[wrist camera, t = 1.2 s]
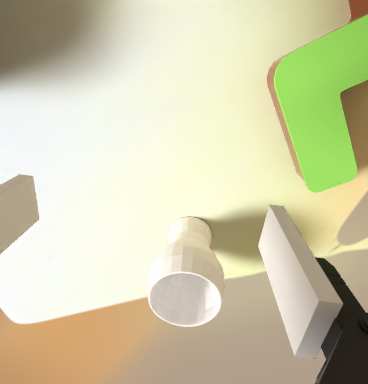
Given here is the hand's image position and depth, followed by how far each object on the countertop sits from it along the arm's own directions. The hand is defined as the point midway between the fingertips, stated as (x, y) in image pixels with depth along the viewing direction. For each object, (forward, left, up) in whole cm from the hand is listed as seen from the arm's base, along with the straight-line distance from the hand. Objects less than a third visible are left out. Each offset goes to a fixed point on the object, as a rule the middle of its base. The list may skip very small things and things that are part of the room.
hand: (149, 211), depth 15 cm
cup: (+16, -11, -27) cm, 33 cm away
